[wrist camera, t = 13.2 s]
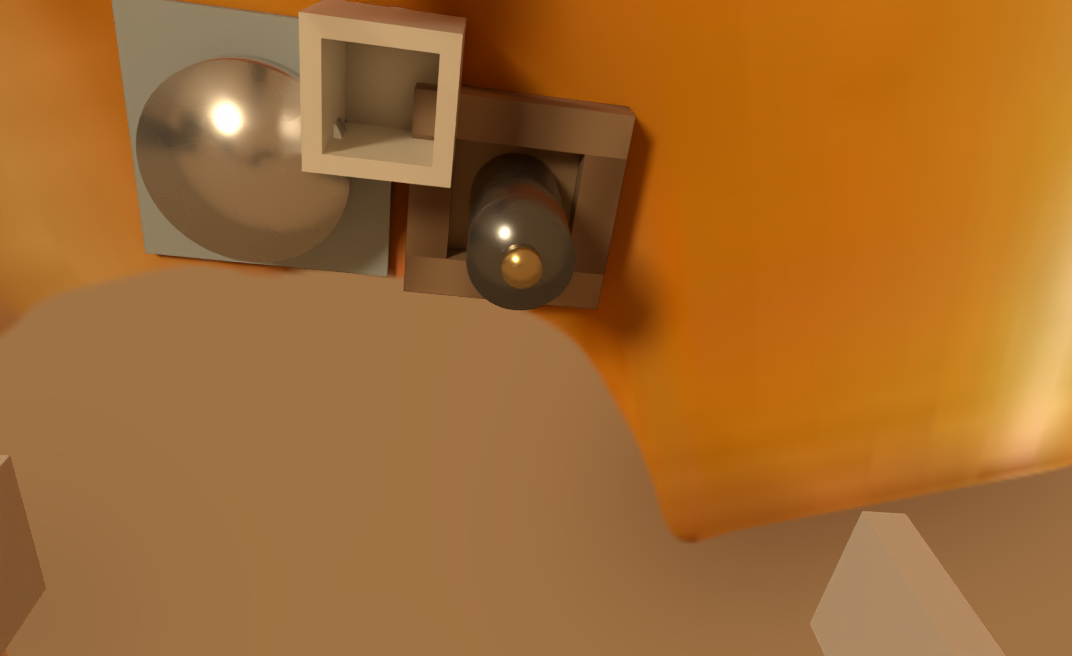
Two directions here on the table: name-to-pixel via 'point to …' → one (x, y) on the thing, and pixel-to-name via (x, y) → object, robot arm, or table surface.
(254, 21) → the base
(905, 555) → the robot arm
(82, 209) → the table surface
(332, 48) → the cup
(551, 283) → the cell
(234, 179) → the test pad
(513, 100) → the brown square tray
